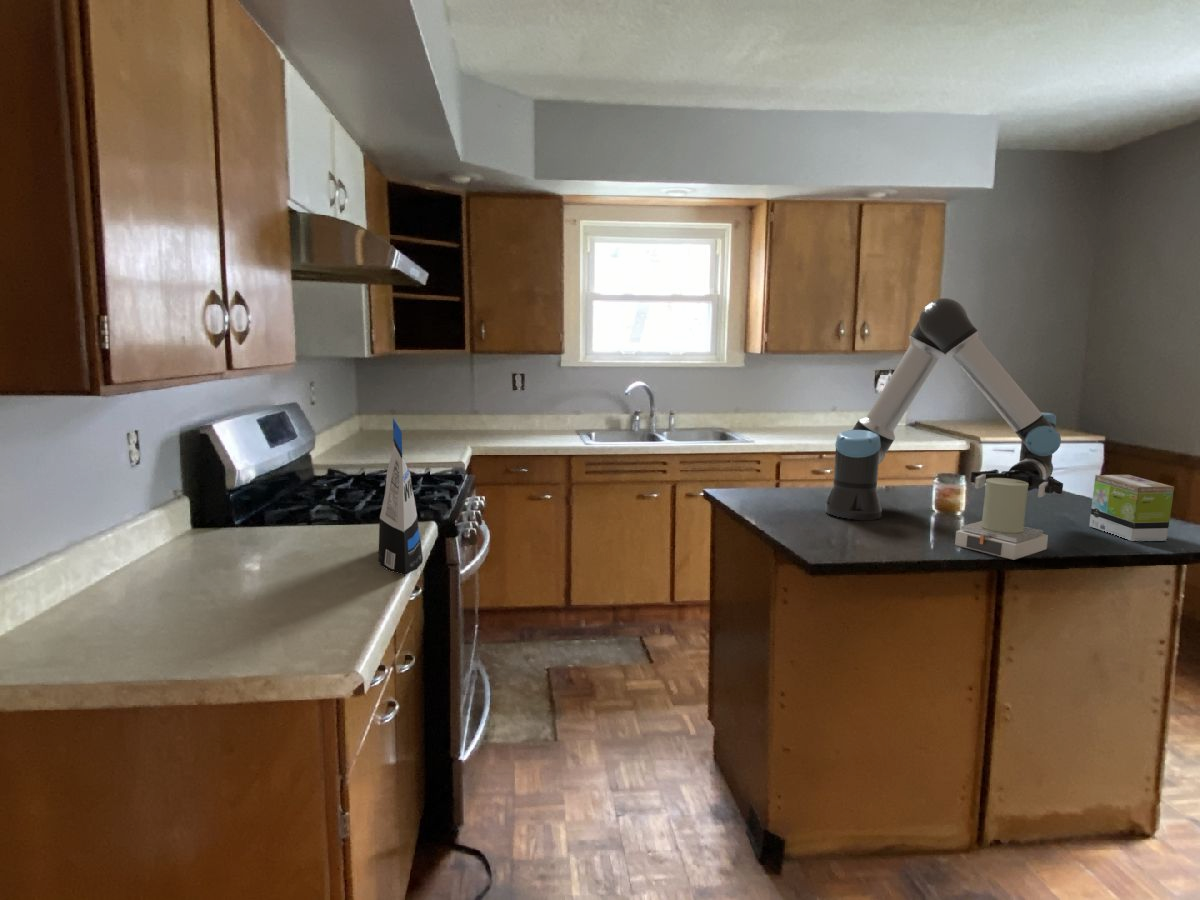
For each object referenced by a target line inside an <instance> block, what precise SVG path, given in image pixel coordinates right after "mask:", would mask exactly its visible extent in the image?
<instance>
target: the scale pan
mask: <svg viewBox="0 0 1200 900" xmlns="http://www.w3.org/2000/svg"><path fill="white" fill-rule="evenodd" d="M981 523H982V520H980V521H977V522H971V523H969V524H963V525H962V526H961V530H964V531H968V532H972V533H977V534H981V535H980V544H985V538H987V537H994V538H998V539H1002V540H1007V541H1011V542H1015V543H1017V542H1020V541H1024V540H1027V539H1030V538H1034V537H1037V536H1040V535H1043V534H1044V531H1045V530H1043V529H1038V528H1035V527H1030V526H1029V527H1028V526H1024V531H1023V532H1020V533H1004V532H997V531H992V530H988V529H985V528H983V527H982V526H981Z"/></svg>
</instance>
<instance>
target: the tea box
mask: <svg viewBox="0 0 1200 900" xmlns="http://www.w3.org/2000/svg"><path fill="white" fill-rule="evenodd" d="M1174 491H1175V486H1174V485H1173V486H1172V485H1169V484H1165V483H1162V482H1157V481H1153V480H1150V479H1146V478H1142V477H1139V476H1135V475H1131V474H1103V475H1102V474H1101V475H1100V474H1099V475H1098V474H1095V476H1094V483H1093V493H1092V501H1091V509H1090V517H1089V528H1094V529H1097V530H1099V531H1102V532H1104V531H1105V532H1104V533H1107V532H1108V534H1109V533H1111V534H1110V535H1112V534H1114V535H1113V536H1115V535H1117V536H1119V537H1118V538H1120V537H1122V538H1125V539H1128V540H1131V541H1135V540H1136V541H1137V540H1161V539H1168V532H1169V527H1170V518H1171V511H1172V508H1173V507H1172V506H1173V500H1174ZM1117 536H1116V537H1117ZM1122 538H1121V539H1122Z"/></svg>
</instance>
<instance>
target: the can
mask: <svg viewBox="0 0 1200 900" xmlns="http://www.w3.org/2000/svg"><path fill="white" fill-rule="evenodd" d="M1028 485H1029V484H1028V483H1027V482H1025V481H1021V480H1015V479H1008V478H988V479H986V484H985V485H984V486H985V488H984V489H985V490H984V499H983V511H982V519H981V521H982V523H981V526H982V527H983V528H985V529H988V530H992V531H997V532H1004V533H1020V532H1023V531H1024V527H1025V517H1026V515H1025V514H1026V508H1027V507H1026V506H1027V505H1026V504H1027V499H1028V492H1029V491H1028Z"/></svg>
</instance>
